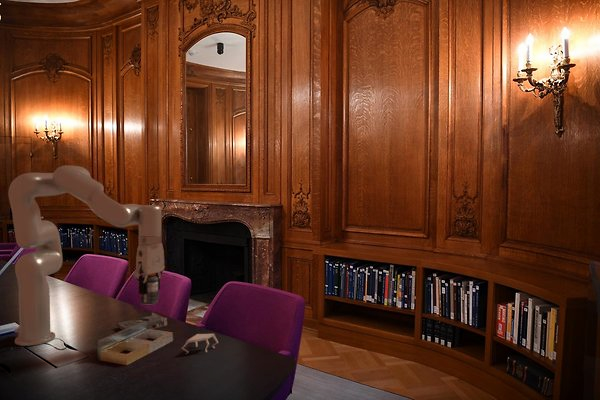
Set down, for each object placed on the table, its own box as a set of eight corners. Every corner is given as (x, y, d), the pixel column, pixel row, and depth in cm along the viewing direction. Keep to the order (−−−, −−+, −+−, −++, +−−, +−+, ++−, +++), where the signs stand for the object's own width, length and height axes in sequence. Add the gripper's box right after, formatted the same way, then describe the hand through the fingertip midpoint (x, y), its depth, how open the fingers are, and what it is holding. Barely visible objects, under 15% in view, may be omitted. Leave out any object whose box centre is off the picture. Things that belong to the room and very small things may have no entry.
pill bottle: (143, 300, 164) (143, 269, 164) (160, 300, 164) (160, 269, 164) (138, 305, 158) (138, 272, 158) (156, 305, 159) (156, 272, 158)
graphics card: (154, 311, 191) (167, 317, 182) (154, 320, 191) (167, 326, 182) (113, 320, 180) (124, 326, 171) (113, 329, 180) (125, 336, 171)
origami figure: (202, 343, 163) (202, 329, 162) (219, 348, 158) (219, 334, 158) (175, 354, 153) (175, 339, 152) (193, 359, 148) (193, 344, 148)
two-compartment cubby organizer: (96, 359, 147) (96, 341, 147) (145, 336, 169) (145, 320, 169) (126, 365, 143) (126, 346, 143) (172, 340, 165) (172, 324, 165)
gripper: (142, 244, 151) (141, 298, 152) (174, 238, 167) (173, 287, 168) (123, 242, 154) (123, 296, 154) (156, 237, 170) (156, 285, 170)
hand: (149, 291), depth 161 cm, fingers closed on pill bottle, 6 cm apart
